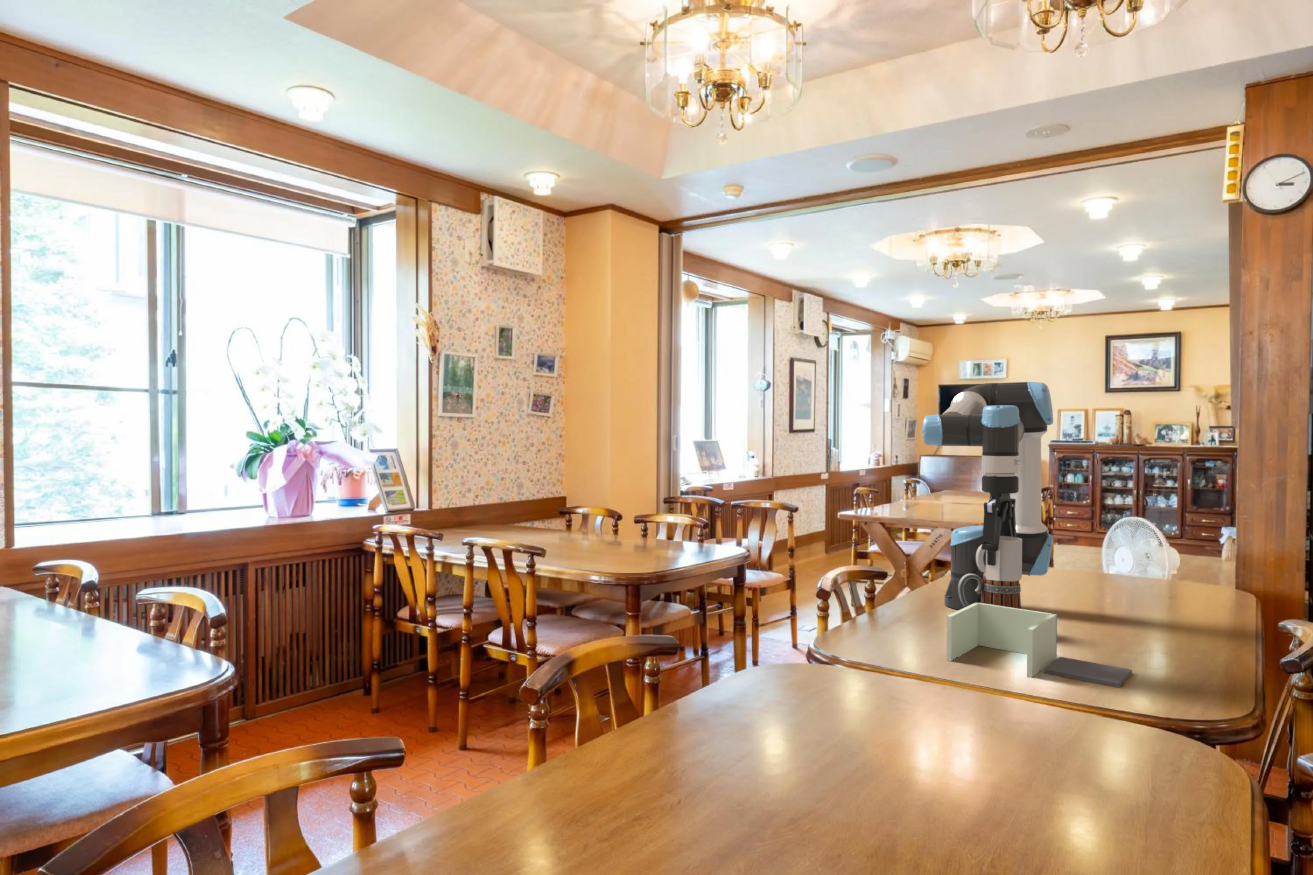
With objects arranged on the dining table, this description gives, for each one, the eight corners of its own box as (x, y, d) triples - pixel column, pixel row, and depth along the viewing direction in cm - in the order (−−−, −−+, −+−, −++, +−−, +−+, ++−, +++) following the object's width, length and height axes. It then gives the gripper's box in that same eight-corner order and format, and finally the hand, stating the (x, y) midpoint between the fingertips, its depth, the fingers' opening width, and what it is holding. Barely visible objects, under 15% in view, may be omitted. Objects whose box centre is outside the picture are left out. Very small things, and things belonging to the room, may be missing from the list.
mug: (1014, 627, 205) (1015, 570, 205) (1029, 638, 195) (1030, 578, 195) (952, 626, 207) (953, 569, 207) (964, 637, 196) (964, 577, 196)
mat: (1044, 672, 168) (1044, 669, 168) (1060, 660, 177) (1060, 656, 177) (1119, 687, 159) (1119, 683, 159) (1131, 673, 168) (1131, 669, 168)
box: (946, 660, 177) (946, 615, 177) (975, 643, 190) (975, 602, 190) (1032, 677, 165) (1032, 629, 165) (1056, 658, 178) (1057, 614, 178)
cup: (1028, 581, 172) (1028, 540, 172) (983, 581, 172) (983, 541, 172) (1011, 574, 179) (1011, 535, 179) (968, 575, 179) (968, 536, 179)
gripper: (1001, 478, 165) (1001, 586, 166) (1032, 473, 181) (1031, 572, 181) (965, 476, 170) (965, 581, 171) (998, 471, 186) (997, 568, 186)
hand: (999, 576), depth 176 cm, fingers closed on cup, 8 cm apart
